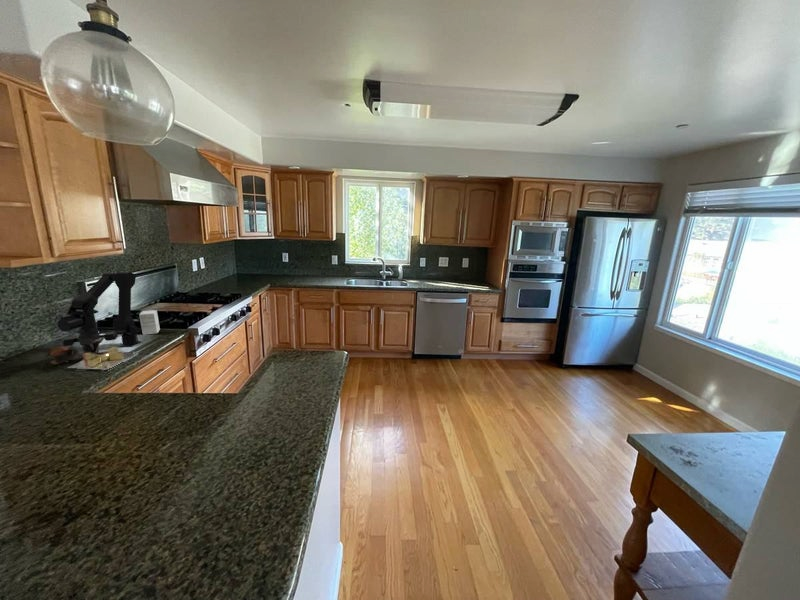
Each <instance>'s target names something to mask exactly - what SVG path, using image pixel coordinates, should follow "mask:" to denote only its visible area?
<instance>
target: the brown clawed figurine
mask: <svg viewBox="0 0 800 600" xmlns="http://www.w3.org/2000/svg"><path fill="white" fill-rule="evenodd" d="M68 347H69V346H63V345H62V346H58V347H53V348H51V349H47V350H46V351H45V352H46V354H45V359H46V358H51V357H53V360H51V361H50V364H51V363H61V362H66V361H69V360H73V359H74V357H77V355H78V352H79V351H78V349H77V348H75V347H70V348H68ZM69 362H70V361H69Z"/></svg>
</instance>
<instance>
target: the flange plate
mask: <svg viewBox="0 0 800 600" xmlns="http://www.w3.org/2000/svg"><path fill="white" fill-rule="evenodd" d="M122 352H123V356H124V358H123V359H117V360H107V361H102V362H100V363H98V364H97V365H95V366H92V367H89V366H88V361H87V360H84V359H82V360H80V361H79V362H78V361H77V363H74V364H72V365H70V366H68V367H66V369H67V368H77V369H109V368H112V367H114V366H116V365H118V364H120V363H122V362H124V363H126V362H128V360H131V359H133V358H135V357H136V356H138V355H139V352H137V351H136V352H135V351H133V352H131V351H122ZM122 364H123V363H122ZM120 365H121V364H120ZM118 366H119V365H118ZM116 367H117V366H116ZM114 368H115V367H114ZM112 369H113V368H112Z"/></svg>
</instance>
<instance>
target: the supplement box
mask: <svg viewBox="0 0 800 600" xmlns="http://www.w3.org/2000/svg"><path fill="white" fill-rule="evenodd" d="M138 315H139V322H140V327H141V328H140V329H141V332H142V335H143V336H145V335H154V334H158V333H159V331H160V330H161V328H160V321H159V315H158V310H157V309H156V310H155V309H152V310H143V311H141V312H140V313H139V314H138Z"/></svg>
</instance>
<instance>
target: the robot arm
mask: <svg viewBox="0 0 800 600" xmlns="http://www.w3.org/2000/svg"><path fill="white" fill-rule="evenodd" d="M136 277H137V276H136V275H135V274H134V272H131V271H117V272H116V273H113V272H104V273H102V275H101V277H100V278H99V279H98V280H97V281H96V282H94V284H93V285H92V286H91V287H90V288H89V290H87V291H86V292H85V293H83V294H80V295H78V296H77V297H76V298H74V299H73V300H72V301H71V303H70V307H69V309H68V311H67V313H66V315H62V316H60V317H59V318H60V319H59V320H58V322H57V327H58V329H59V330H60V331H61V332H65V333H66V332H70V331H72V330H73V331H74V330H76V329H79V335H72V336H71V335H70V336H66V337H65V338H64V339H63V340H62V347H63V346H67V347H70V346H73V345H74V344H75V343H79V345H80V346H84V347H86V349H88V351H89V353H98V348H99V346H100V344H101V343H102V342H103V341H105V340H106V341H107V342H108V341H114V340H117V338H118V337H119V335H121V342H122V344H120V347H134V346H136V345H138V344H139V343H142V341H141V340H139V338H138V334H139V333H141V328H140V327H138V326H137V325H136V324H135V320H134V318H133V317H132V314H131V313H132V311H131V310H132V309H131V307H132V288H133V287H134V286H135V284H136ZM113 283H115V286H116V287H117V289H118V315H117V317H116V318H114V319H112V328H113V331H107V332H106V333H105V334H100V333H99V329H98V324H97V321H96V316H95V314H98V313H99V311H98V310H96V308H95V307H97V304H98V303H99V298H100V297H101V296H102V295H103V294H104V293H105V291H107V290H108V288H109V287H110V286H111V285H112V284H113Z"/></svg>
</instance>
